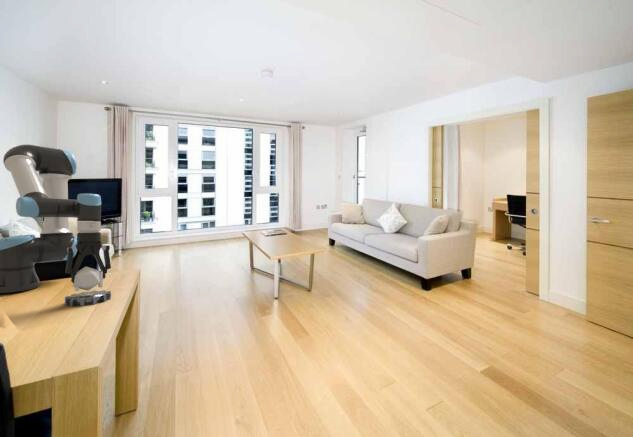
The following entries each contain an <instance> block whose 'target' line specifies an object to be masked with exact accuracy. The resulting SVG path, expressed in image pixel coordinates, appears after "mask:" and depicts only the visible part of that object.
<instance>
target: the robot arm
mask: <svg viewBox="0 0 633 437" xmlns="http://www.w3.org/2000/svg"><path fill="white" fill-rule="evenodd" d="M2 159H3V160H2V162H3V165H4V168H5V169H6V171H8V172H10V173H11V176H12V179H13V181H14V184H15V187H16V190H17V191H18V192H17V193H18V195H19V197H17V199H16V202H15V211H16V214H17V216H19V217H25V218H44V219H43V221H44V222H43V224H44V228H43V229H44V230H42V231H41V232H40V233H39V237H36V236H35V234H21V235H13V236H6V237H1V238H0V294H5V293H7V294H9V293H16V292H17V293H18V292H23V291H28V290H33V289H37V288H39V287H40V282H41V281H40V278H39V276H38V275H37V273H36V270H35V264H38V263H39V264H40V263H50V262H51V263H52V262H62V261H66V262H65V263H66V264H65V271H64V273H65V274H69V275H70V276H71V277H70V279H71V283H72V284H73V283H74V279H75V275H76V274H77V272H78V271H79V269H80V267H81V265H82V262H83V261H84V259H85V257H86V256H88V255H89V256H90V255H91V256H93V258H94V259H95V262H96V263H97V266H98V267H99V271H100V283H99V284H98V285H97V287H98V288H100V289H101V288H103V283H104V282H103V279H104V280H105V279H106V271H107V270H109V269H112V265H111V258H110V248H111V246H110V245H109V244H108V245H107V244H106V245H104V244H102V242H101V241H102V238H101V237H102V233H101V232H100V231H101V230H102V222H101V220H102V216H101V215H102V198H101V195H100V194H97V193H78V194H77V196H76V199H70V198H69V188H68V186H69V185H68V182H69V180H70V179H71V180H72V176H74V175H75V174H76V173H77V168H78V166H77V160H76V157H75V155H74V154H73V153H72V152H71V151H68V150H64V149H60V148H53V147H45V146H39V145H34V144H19V145H16V146H13V147H12V148H10V149H8V151H6V153H5V154H3V158H2ZM40 178H41V179H42V181H43V184H42V181H41V179H40ZM69 218H75V219H76V231H77V233H76V235H74V232H73V231H71V229H69ZM101 249H102V252H103V258H104V262H103V260H102V257H101V256H100V255H101V254H100V253H99V251H100V250H101ZM77 252H79V254H78V255H77ZM76 255H77V258H76V260H75V263H74V265H73V260H74V258H75V256H76ZM72 266H73V268H72ZM79 291H80V289H79V287H76V288H75V287H74V292H79Z"/></svg>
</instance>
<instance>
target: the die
mask: <svg viewBox="0 0 633 437" xmlns="http://www.w3.org/2000/svg"><path fill="white" fill-rule="evenodd" d="M100 271H101V270H100V269H96V268H92V267H90V266H84V267H83V268H81V269H80V270H79V269H78V272H77V274H76V275H75V279H74V283H72V288H74V289H75V288H76V287H79V290H83V291H86V292H90V290H92V289H94V288H95V287H96V286H98V284H99V283H100Z"/></svg>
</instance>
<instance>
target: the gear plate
mask: <svg viewBox="0 0 633 437" xmlns="http://www.w3.org/2000/svg"><path fill="white" fill-rule="evenodd" d="M111 299H112V292H111V290H107V291H106V290H105V289H103V290H92V291H81V292H79V293H72V294H70V295H66V296H65V298H64V306H69V307H75V306H80V307H85V306H87V305H88V306H89V305H93V306H94V305H97V304H99V303H106V302H107V300H111Z"/></svg>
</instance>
